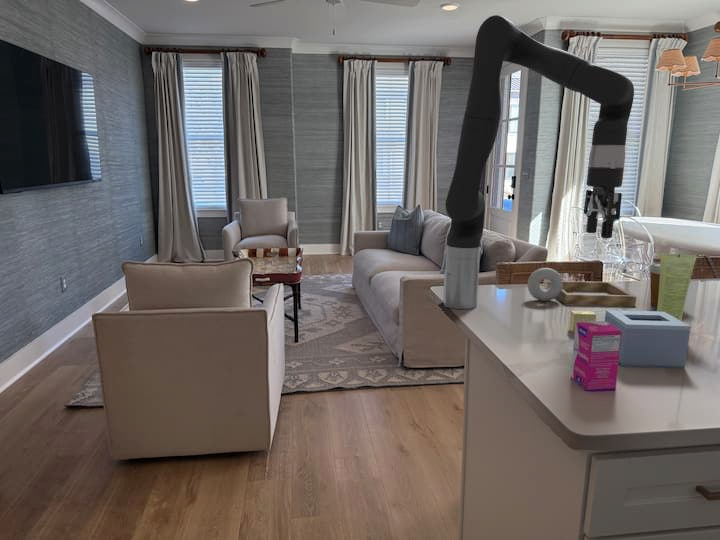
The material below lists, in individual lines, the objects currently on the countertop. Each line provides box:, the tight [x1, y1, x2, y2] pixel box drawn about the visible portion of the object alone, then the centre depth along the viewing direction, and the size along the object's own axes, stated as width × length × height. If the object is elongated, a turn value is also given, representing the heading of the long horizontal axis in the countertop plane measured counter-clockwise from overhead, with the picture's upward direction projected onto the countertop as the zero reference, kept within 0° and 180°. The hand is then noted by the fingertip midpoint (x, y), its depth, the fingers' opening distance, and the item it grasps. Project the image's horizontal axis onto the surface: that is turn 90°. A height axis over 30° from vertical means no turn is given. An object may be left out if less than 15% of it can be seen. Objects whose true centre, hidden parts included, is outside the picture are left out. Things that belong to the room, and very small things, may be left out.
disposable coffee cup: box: [648, 262, 660, 308], centre depth 145 cm, size 10×10×12 cm
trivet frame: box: [546, 280, 637, 307], centre depth 155 cm, size 19×18×3 cm
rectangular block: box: [568, 310, 597, 334], centre depth 122 cm, size 5×2×5 cm, turn 86°
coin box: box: [604, 309, 692, 369], centre depth 105 cm, size 12×10×9 cm
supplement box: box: [570, 320, 622, 392], centre depth 92 cm, size 6×6×12 cm
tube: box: [656, 252, 698, 321], centre depth 120 cm, size 6×5×20 cm
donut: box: [527, 267, 564, 302], centre depth 150 cm, size 10×4×10 cm, turn 84°
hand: (598, 235), depth 122 cm, fingers open, 8 cm apart
